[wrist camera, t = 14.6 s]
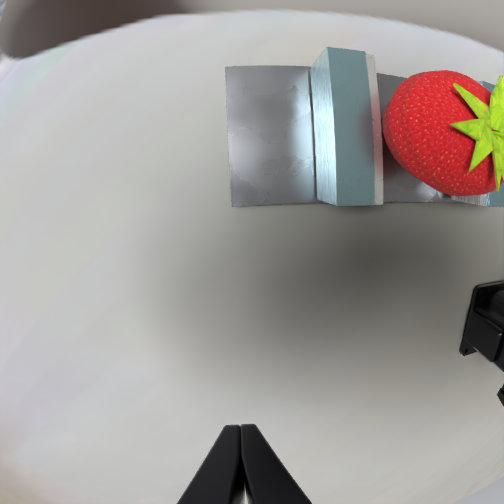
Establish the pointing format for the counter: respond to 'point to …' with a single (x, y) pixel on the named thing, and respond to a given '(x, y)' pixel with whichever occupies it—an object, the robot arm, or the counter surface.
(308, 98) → the vise
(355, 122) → the block
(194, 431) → the counter surface
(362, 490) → the counter surface
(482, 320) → the robot arm
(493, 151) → the strawberry
